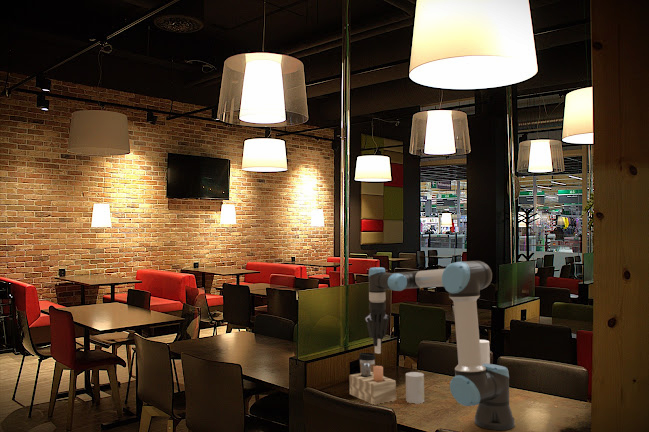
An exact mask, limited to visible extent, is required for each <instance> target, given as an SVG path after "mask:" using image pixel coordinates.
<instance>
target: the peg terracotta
mask: <svg viewBox="0 0 649 432" xmlns="http://www.w3.org/2000/svg"><path fill="white" fill-rule="evenodd" d="M373 375H374V381H375V382H382V381H383V376H384V366H383V365H375V366H374V367H373Z"/></svg>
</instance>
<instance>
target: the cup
mask: <svg viewBox="0 0 649 432" xmlns="http://www.w3.org/2000/svg"><path fill="white" fill-rule="evenodd" d="M405 401H407V402H406V403H408V402H409V404H411V403H415V404H414V405H421V404H423V402H424V403H425V374H424V373H423V372H418V371H410V372H406V373H405ZM420 403H421V404H420Z"/></svg>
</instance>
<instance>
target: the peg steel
mask: <svg viewBox="0 0 649 432" xmlns="http://www.w3.org/2000/svg"><path fill="white" fill-rule="evenodd" d="M360 373H361V376H362V377H370V376H371V372H370V362H361V371H360Z"/></svg>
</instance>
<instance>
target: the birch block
mask: <svg viewBox="0 0 649 432" xmlns="http://www.w3.org/2000/svg"><path fill="white" fill-rule="evenodd" d="M348 378H349V379H348V381H349V395H351V396H353V397H355V398H357V399H360V400H362V401H364V402H366V403H369V404H370V405H373V404H374V405H373V406H376V405H377V404H378V405H381V404H380V403H383V404H385V403H384V402H388V403H390V402H389V401H392V402H395V401H394V400H396V401H397V389H396V388H397V383H396V380H395V379H392V378H389V377H387V376H384V375H383V381H382V382H375V381H374V375H373V372H371V376H370V377H362V376H361V372H359V373H353V374H349V377H348ZM378 405H377V406H378Z"/></svg>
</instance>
